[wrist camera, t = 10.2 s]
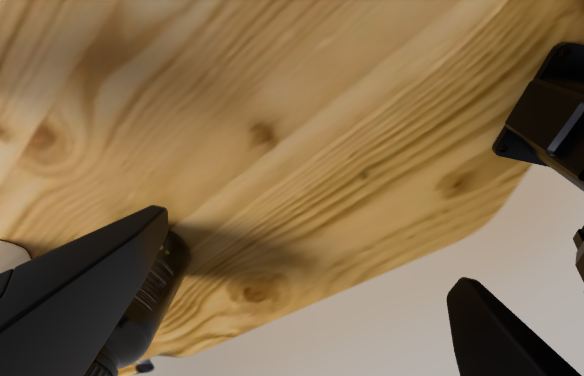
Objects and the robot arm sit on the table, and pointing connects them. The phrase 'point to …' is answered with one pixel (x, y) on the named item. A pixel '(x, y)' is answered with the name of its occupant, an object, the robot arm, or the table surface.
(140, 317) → the supplement bottle
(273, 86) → the table surface
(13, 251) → the eye dropper bottle
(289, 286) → the table surface
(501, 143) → the robot arm
